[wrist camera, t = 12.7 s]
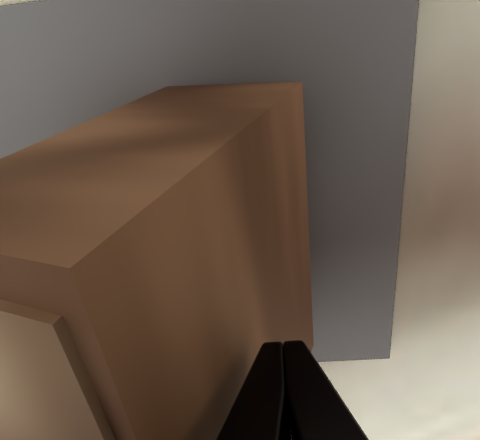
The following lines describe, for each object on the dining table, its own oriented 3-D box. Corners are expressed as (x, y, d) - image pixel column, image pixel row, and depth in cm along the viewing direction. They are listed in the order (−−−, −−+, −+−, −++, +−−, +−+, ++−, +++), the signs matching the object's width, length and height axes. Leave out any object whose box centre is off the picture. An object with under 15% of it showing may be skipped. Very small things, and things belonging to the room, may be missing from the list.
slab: (302, 81, 10) (58, 278, 4) (313, 345, 15) (207, 641, 8) (166, 86, 12) (-164, 229, 5) (213, 322, 16) (59, 555, 10)
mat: (417, -52, 10) (423, -53, 10) (386, 350, 17) (389, 358, 17) (-161, 28, 12) (-174, 30, 11) (21, 369, 19) (16, 376, 18)
